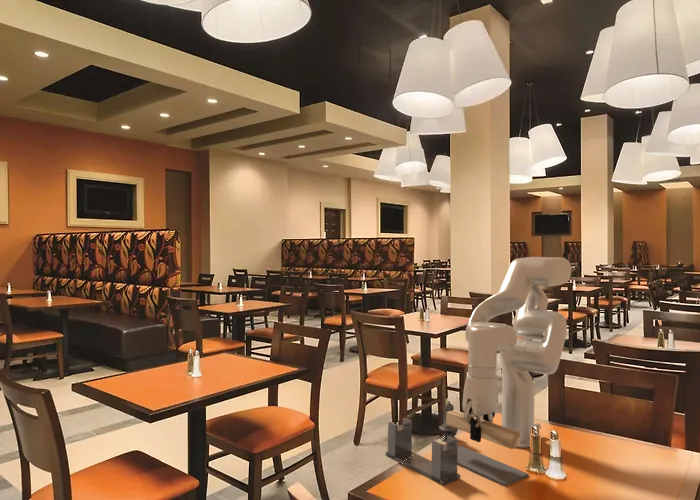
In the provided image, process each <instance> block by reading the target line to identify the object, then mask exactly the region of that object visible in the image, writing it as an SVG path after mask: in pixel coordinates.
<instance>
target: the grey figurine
mask: <svg viewBox="0 0 700 500" xmlns="http://www.w3.org/2000/svg"><path fill="white" fill-rule="evenodd" d="M443 409H444V411H443V413H444V414H442V416H443V424H441V425H439V426H438V428H439V431H440V434H441V435H442V436H440V438H439V440H440V439H441V438H442V439H443V440H442V439H441V440H442V442H445V443H447V436H451V437H453V438H455V439H458V438H457V437H455V436H456V435H457V433H458V431H459V429H457V428H454V427H451V426H449V425H446V412H448V411H452V410H455V408H454V405H453V404H452V403H451V401H450V400H448V401H447V403H445V404H444V408H443ZM444 436H445V437H444ZM443 437H444V438H445V439H444V438H443ZM441 440H440V441H441Z"/></svg>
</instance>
